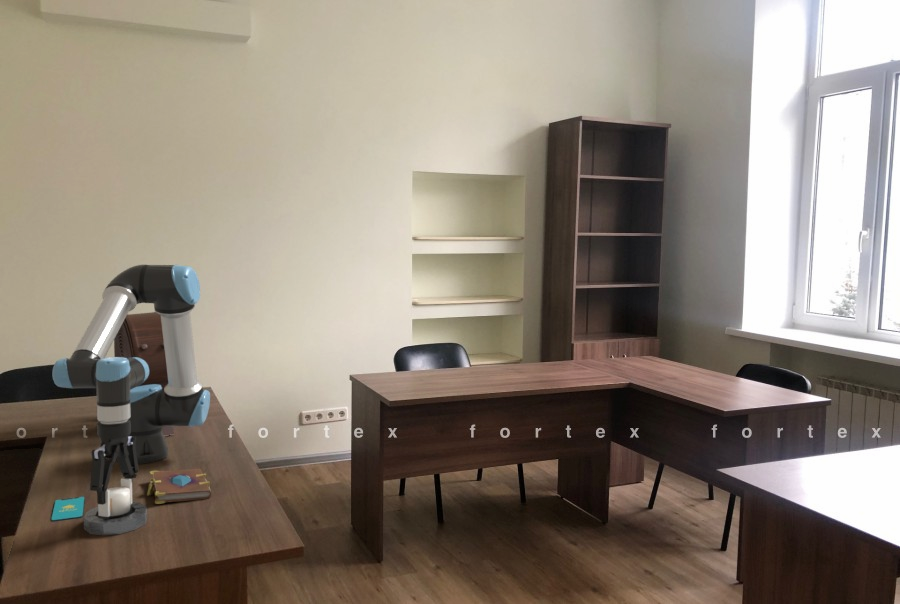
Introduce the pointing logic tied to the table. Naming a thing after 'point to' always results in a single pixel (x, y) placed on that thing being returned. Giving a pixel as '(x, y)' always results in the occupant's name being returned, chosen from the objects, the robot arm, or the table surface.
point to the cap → (119, 500)
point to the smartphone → (68, 509)
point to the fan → (145, 348)
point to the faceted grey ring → (115, 521)
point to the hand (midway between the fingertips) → (115, 509)
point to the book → (179, 485)
